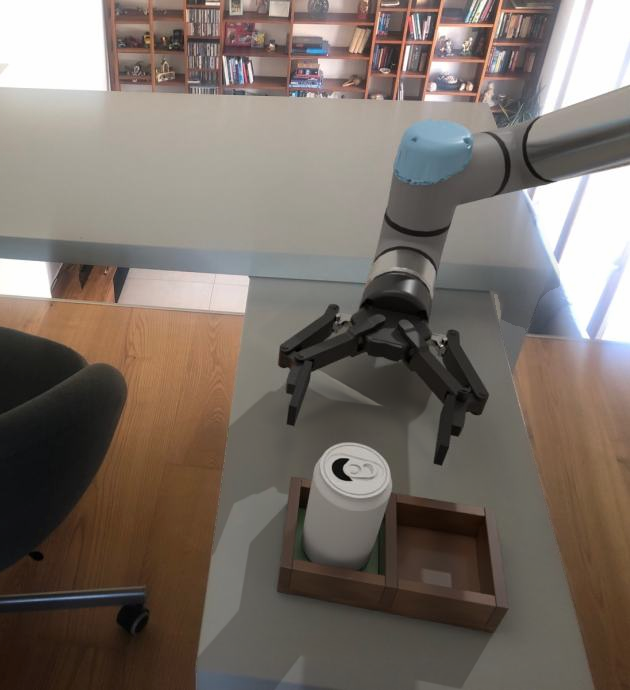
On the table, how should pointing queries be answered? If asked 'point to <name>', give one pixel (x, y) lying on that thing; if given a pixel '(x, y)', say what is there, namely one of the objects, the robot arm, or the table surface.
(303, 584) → the wooden compartment tray
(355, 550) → the beverage can
